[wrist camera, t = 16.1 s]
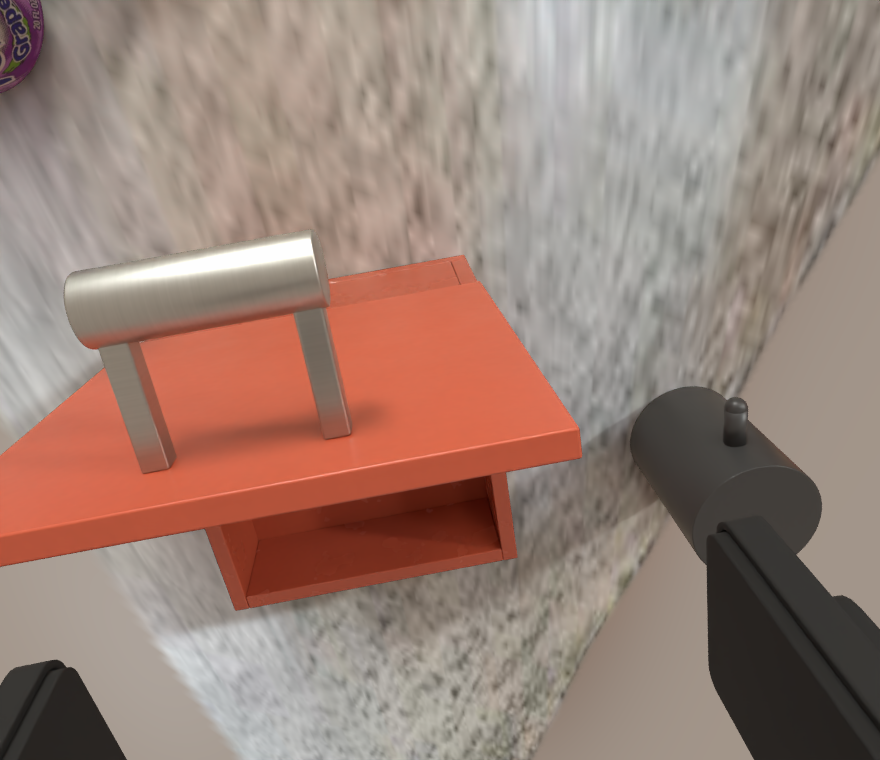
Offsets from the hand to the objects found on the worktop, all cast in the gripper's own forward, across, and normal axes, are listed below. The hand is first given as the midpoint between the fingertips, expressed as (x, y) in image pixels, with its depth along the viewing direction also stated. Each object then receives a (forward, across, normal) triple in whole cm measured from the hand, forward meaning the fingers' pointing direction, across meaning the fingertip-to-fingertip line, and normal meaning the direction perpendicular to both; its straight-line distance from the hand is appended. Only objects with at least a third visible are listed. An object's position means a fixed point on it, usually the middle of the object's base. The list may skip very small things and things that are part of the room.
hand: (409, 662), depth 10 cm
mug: (+28, -15, +15) cm, 35 cm away
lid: (+14, +4, +1) cm, 14 cm away
